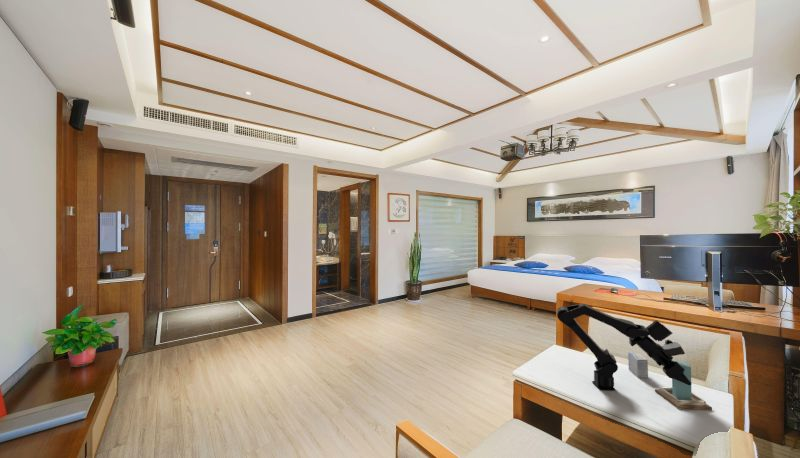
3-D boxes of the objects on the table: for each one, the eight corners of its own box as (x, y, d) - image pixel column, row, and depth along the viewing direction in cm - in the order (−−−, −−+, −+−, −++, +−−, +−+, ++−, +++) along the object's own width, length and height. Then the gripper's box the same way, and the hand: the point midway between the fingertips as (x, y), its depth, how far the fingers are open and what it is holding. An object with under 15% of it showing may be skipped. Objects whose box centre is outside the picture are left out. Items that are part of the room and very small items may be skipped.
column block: (691, 402, 118) (691, 367, 117) (676, 399, 119) (676, 365, 119) (686, 396, 122) (686, 362, 121) (672, 393, 124) (671, 360, 123)
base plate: (677, 408, 115) (677, 402, 115) (654, 391, 127) (654, 385, 127) (712, 409, 114) (711, 403, 114) (685, 392, 126) (685, 386, 126)
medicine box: (648, 378, 137) (648, 360, 137) (637, 377, 138) (637, 359, 138) (638, 370, 145) (638, 352, 145) (628, 369, 146) (627, 352, 146)
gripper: (677, 344, 113) (716, 379, 109) (659, 328, 130) (693, 357, 126) (651, 361, 117) (688, 395, 112) (637, 343, 134) (669, 372, 129)
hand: (685, 378), depth 120 cm, fingers open, 9 cm apart
